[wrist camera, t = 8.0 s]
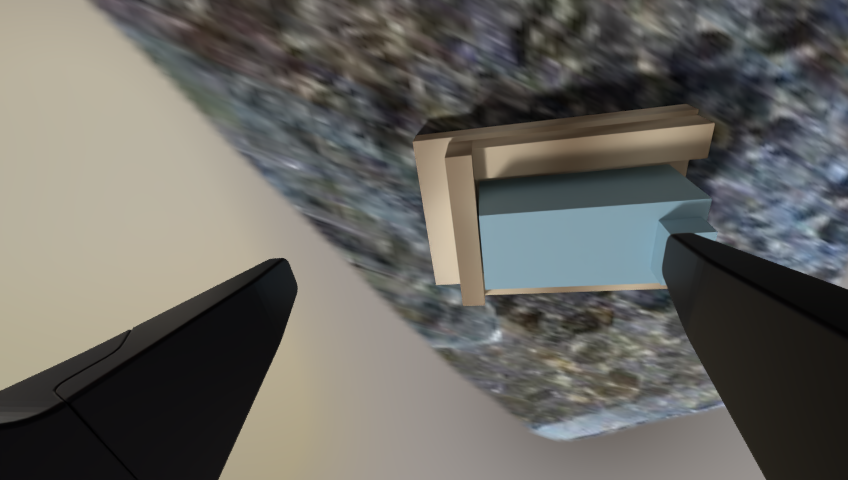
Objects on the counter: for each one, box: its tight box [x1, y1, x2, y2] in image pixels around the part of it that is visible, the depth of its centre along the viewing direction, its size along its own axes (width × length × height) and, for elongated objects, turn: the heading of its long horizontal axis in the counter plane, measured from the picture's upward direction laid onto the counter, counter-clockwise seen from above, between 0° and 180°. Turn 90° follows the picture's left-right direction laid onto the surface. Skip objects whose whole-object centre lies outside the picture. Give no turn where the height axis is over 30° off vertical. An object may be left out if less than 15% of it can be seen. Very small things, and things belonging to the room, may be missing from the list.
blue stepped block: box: [479, 164, 718, 290], centre depth 18 cm, size 9×4×5 cm, turn 98°
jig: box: [413, 104, 715, 306], centre depth 20 cm, size 13×9×4 cm
